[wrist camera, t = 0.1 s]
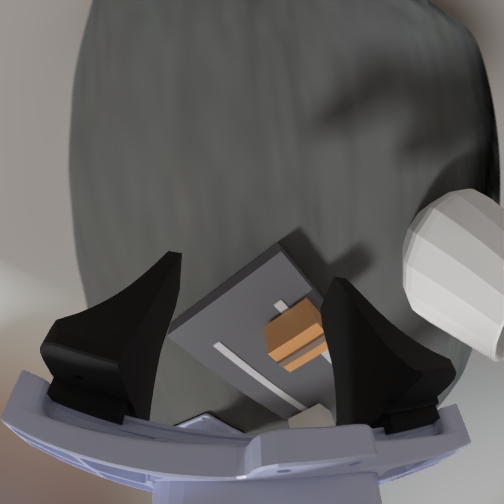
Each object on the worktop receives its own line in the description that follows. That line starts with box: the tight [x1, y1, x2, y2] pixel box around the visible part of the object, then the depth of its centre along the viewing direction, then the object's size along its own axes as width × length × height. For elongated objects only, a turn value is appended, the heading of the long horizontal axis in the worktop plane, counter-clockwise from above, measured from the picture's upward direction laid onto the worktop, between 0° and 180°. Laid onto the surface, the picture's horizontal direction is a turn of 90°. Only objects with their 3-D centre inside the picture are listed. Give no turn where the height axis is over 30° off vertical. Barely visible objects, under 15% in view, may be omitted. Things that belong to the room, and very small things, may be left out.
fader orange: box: [264, 298, 328, 372], centre depth 22 cm, size 4×3×4 cm, turn 129°
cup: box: [403, 189, 504, 362], centre depth 18 cm, size 13×13×14 cm
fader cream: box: [288, 403, 335, 428], centre depth 28 cm, size 4×3×4 cm, turn 129°
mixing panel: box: [167, 242, 336, 424], centre depth 28 cm, size 13×26×2 cm, turn 39°
